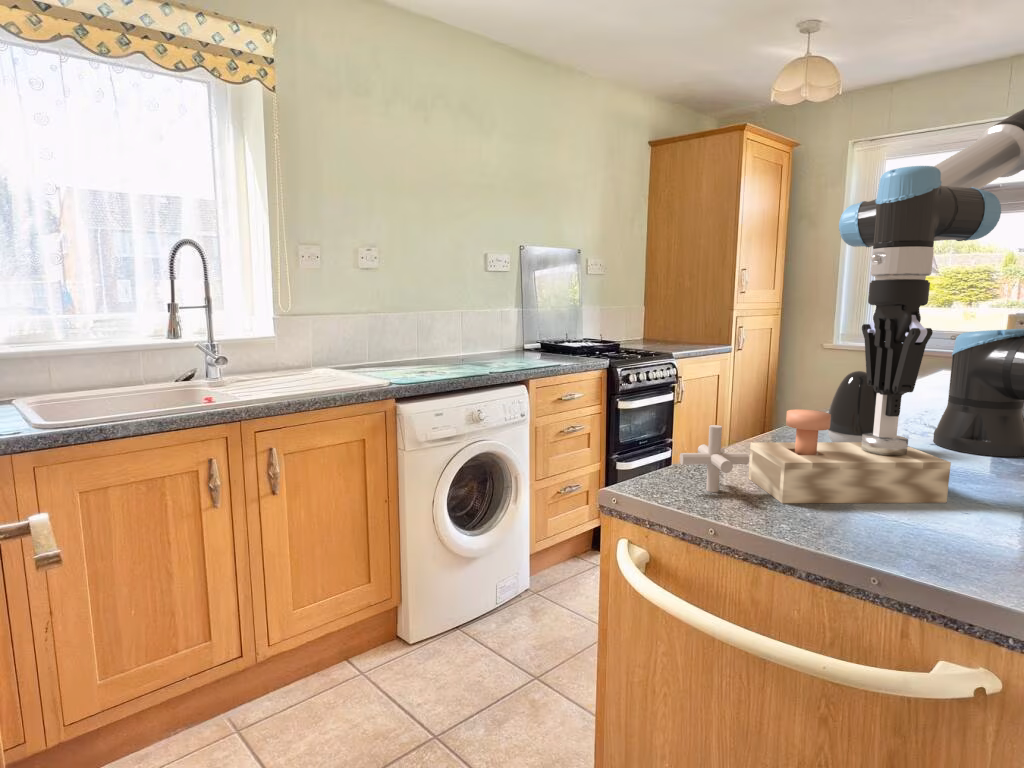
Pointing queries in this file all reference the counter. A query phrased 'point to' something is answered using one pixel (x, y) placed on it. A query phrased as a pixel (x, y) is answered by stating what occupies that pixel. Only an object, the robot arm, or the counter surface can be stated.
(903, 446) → the grey shiny disc
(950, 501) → the counter surface
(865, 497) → the panel housing
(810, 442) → the terracotta plunger
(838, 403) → the pump dispenser
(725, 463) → the pipe connector
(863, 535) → the counter surface
